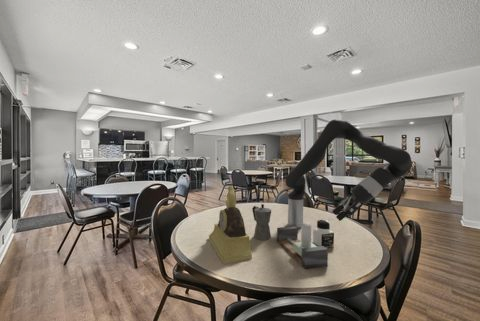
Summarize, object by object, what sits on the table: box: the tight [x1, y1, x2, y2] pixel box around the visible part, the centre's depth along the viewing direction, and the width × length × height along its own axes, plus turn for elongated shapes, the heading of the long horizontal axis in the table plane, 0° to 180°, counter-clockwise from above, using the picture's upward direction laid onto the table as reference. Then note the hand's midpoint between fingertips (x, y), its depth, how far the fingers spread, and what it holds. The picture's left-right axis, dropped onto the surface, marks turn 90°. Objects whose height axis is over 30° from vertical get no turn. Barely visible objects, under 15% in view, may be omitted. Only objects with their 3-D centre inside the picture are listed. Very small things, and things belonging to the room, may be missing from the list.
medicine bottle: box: [312, 219, 335, 248], centre depth 107 cm, size 7×7×12 cm
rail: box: [276, 226, 329, 270], centre depth 99 cm, size 28×10×7 cm, turn 13°
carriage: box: [293, 223, 318, 256], centre depth 93 cm, size 8×8×12 cm
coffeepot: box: [251, 203, 272, 241], centre depth 118 cm, size 15×9×18 cm, turn 33°
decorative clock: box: [208, 185, 253, 265], centre depth 103 cm, size 28×13×30 cm, turn 20°
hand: (335, 216), depth 90 cm, fingers open, 8 cm apart
